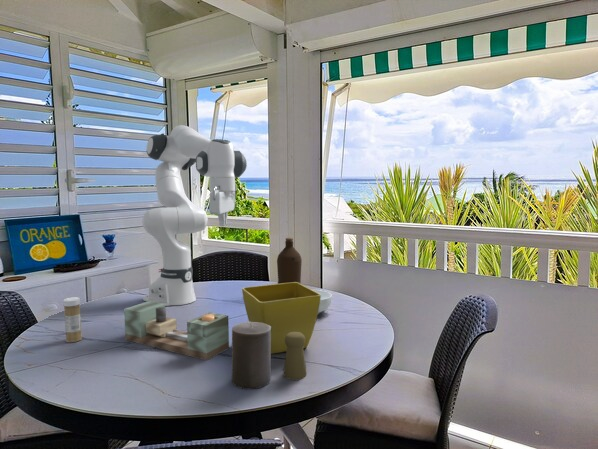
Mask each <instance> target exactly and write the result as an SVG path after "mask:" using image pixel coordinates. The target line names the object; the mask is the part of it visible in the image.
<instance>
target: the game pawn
mask: <svg viewBox="0 0 598 449" xmlns="http://www.w3.org/2000/svg"><path fill="white" fill-rule="evenodd" d="M304 343H305V336H304V335H303V334H302V333H300V332H290V333H288V334H287V335H286V337H285V344H286V345H287V351H285V361H284V369H283V377H284V378H286V379H287V380H292V381H293V380H295V381H296V380H301V379H305V378H306V377H307V367H306V365H307V364H306V360H305V350H304V348H303V345H304Z"/></svg>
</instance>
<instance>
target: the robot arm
mask: <svg viewBox="0 0 598 449" xmlns="http://www.w3.org/2000/svg"><path fill="white" fill-rule="evenodd" d="M146 154H147V156H148V158H150V159H151V160H155V161H159V162H161V163H160V164H158V165H157V167H156V169H155V179H154V180H155V187H156V193H157V199H158V201H159V203H160V204H161V206H163V207H156V208H152V209H148V210H145V212H144V214H143V216H142V227H143V229H144V230H145V232H146V233H148V234H149V235H151V236H152V237H153V238H154V239H155V240H156V241H157V242H158V245H159V246H160V248H161V253H162V263H163V267H162V268H158V273H160V276H159V277H158V278H156V280H155V281H153V282H152V283H151V284H150V285H149V288H148V294H147V295H145V296H144V297H142V301H143V302H148V301H151V302H157V303H162V304H164V307H168V306H181V305H187V304H190V303H194V302H196V300H197V296H196V294H195V289H194V288H195V287H194V282H193V273H194V272H193V266H192V256H191V255H192V250H191V248H190V246H189V245H188V244H186V243H185V242H182V241H179V240H177V239H176V235H182V234H183V235H185V234H194V233H198V232H202V231H204V230H205V229H206V227H207V225H208V221H209V219H208V218H209V217H208V214H207V212H206V210H204V209H203V208H202V207H199V206H198V205H196V204H194V203H193V202H192V201H191V200H190V199H189V198H188V196H187V195H186V191H185V188H184V184H183V179H182V175H181V170H182V171H187V170H188V169H190V168H191V167H192V166H193V165H194V164H195V169H196V171H197V172H198V174H200V175H201V176H202V177H209V178H208V180H209V182H208V183H209V184H208V185H209V191H210V194H209V208H208V209H209V214H210V215H217V218H218V222H219V226H220V227H223V226H226V225H227V220H228V215H229V214H228V212H232V211H234V210H235V207H236V191H237V189H238V188H237V184H236V178H237V179H238V178H240V177H241V176H242V175H243V174H244V173H245V172H246V169H247V167H248V166H247V159H246V157H245V156H244V154H243V153H242V152H241V151H240V150H234V145H233V142H232V141H230V140H228V139H227V140H226V139H221V138H220V139H219V138H216V139H210V138H208V137H206V136H205V135H203V134H201V133H200V132H198V131H196V130H195V129H194V128H192V127H190V126H187V125H184V124H183V125H182V124H180V125H175V127H174V128H172V129H171V132H170V134H169V135H166V134H165V133H160V134H154V135H152V136H151V137H149V139H148V140H147V143H146Z"/></svg>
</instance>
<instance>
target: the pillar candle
mask: <svg viewBox="0 0 598 449" xmlns="http://www.w3.org/2000/svg"><path fill="white" fill-rule="evenodd" d="M271 358H272V356H271V326H269V325H267V324H264V323H259V322H249V321H246V322H240V323H237V324H234V325H233V326H232V330H231V381H232V382H231V383H232V384H233V385H234V386H235V387H238V388H240V389H244V390H252V389H260V388H263V387H265V386H267V385H268V384H270V382H271V376H272V375H271V366H272V365H271V364H272V363H271V362H272V361H271Z"/></svg>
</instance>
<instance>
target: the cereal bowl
mask: <svg viewBox="0 0 598 449" xmlns="http://www.w3.org/2000/svg"><path fill="white" fill-rule="evenodd" d="M312 290H313V291H315V292H317V293H319V294H320V295H321V298H320V304H319V310H318V315H319V314H320V313H323V312H324V311H326V310H327V309H329V307H330V306H331V304H332V299H333V298H332V293H330V292H329V291H325V290H320V289H312Z"/></svg>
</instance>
